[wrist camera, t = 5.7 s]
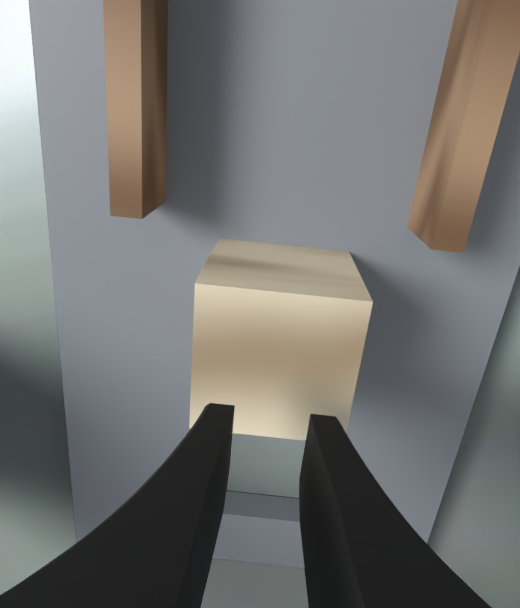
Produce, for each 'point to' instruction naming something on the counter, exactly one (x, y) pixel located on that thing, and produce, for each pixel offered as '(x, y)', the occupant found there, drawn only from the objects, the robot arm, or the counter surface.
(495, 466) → the counter surface
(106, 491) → the deck
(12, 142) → the counter surface
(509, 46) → the frame
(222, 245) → the block
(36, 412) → the counter surface
